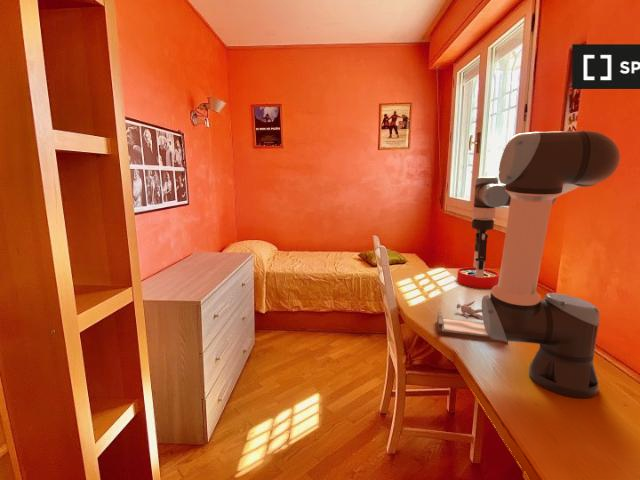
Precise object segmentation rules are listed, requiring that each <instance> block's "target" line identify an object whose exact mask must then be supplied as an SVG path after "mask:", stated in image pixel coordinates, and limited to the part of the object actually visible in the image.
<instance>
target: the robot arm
mask: <svg viewBox="0 0 640 480" xmlns="http://www.w3.org/2000/svg"><path fill="white" fill-rule="evenodd" d="M620 159H621V153H620V149H619V147H618V146H617V144H616V143H615V142H614V141H613V140H612V139H611V138H610V137H609V136H607V135H605V134H603V133H601V132H597V131H593V130H578V131H576V130H575V131H572V130H571V131H570V130H569V131H531V132H523V133H517V134H515V135H513V136H512V137H511V138H510V139H509V141H508V142H507V144H505V148H504V149H503V152H502V155H501V159H500V161H499V167H498V171H499V173H498V177H495V176H479V177H477V178H476V179H475V185H474V199H473V200H474V201H473V208H472V209H471V210H470V211H471V213H472V217H473V218H472V221H471V228H472V229H474V230H476V232H475V244H474V253H473V254H474V256H473V265H472V266H473V267H472V268H476V275H475V277H478V278H484V269H486V268H485V267H486V261H487V244H488V237H489V234H488V233H487V231H491V230H493V229H494V225H495V218H496V208H500V207H509V208H508V216H507V220H506V222H507V223H506V230H505V235H504V244H503V250H502V256H501V264H500V270H499V280H498V284H497V285H495V286H494V287H492V288H490V289H491V290H490V294H486V295H483V296H482V299H481V309H482V312H481V316H483V318H482V323H484V326H485V330H486V332H487V334H488V336H489V337H491V338H492V339H497V340H504V341H506V342H507V341H508V342H515V343H516V342H517V343H527V344H535V345H537V344H538V345H539V348H538V350H537V352H536V353H535V355H534V356H533V358H532V360H531V362H530V364H529V368H528V374H529V377H530V378H531V380H533V381H534V382H535V383H536V384H537V385H539V386H541V387H543V388H544V389H546V390H549V391H550V392H552V393H555V394H558V395H562V396H566V397H569V398H577V399H588V398H592V397H595V396H596V395H597V394H598V391H599V380H598V376H597V372H596V367H595V365H594V356H595V350H596V344H597V339H598V338H597V337H598V330H599V327H600V325H601V324H600V310H599V308H598V307H597V306H596V305H594V304H593V303H592V302H589V301H587V300H584V299H582V298H579V297H575V296H571V295H569V294H563V293H556V292H550V293H549V292H548V293H546V294H545V296H544V299H542V296H541V295H540V294H539V293H538V292H537V285H538V280H539V275H540V271H541V270H540V269H541V265H542V259H543V254H544V253H543V252H544V248H545V242H546V237H547V233H548V232H547V231H548V226H549V220H550V215H551V209H552V206H553V205H554V203H555V202H556V200H557V198H558V197H560V196H562V195H564V194H567V193H569V192H571V191H574V190H576V189H578V188H580V187H581V188H589V187H592V186H595V185H597V184H600V183H602V182H604V181H606V180H608V179H609V178H610V177H611V176H612V175H613V174H614V173H615V172H616V170H617V169H618V167H619V164H620Z"/></svg>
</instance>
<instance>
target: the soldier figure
mask: <svg viewBox="0 0 640 480" xmlns="http://www.w3.org/2000/svg"><path fill="white" fill-rule="evenodd" d="M476 302H477V301H476V300H474V301H471V302H469V303H465V304H464V303H463V305H461V304H460V303H457V304H456V310H459V309H460V311H461V313H462V314H463V316H464V317H466V319H468V318H469V315H470V316H473V317H476V318H478V319H483V316H482V314H480V313H482V308H479V309H474V308H472V307H471V306H472V305H473V304H475V303H476Z"/></svg>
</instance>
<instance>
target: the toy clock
mask: <svg viewBox="0 0 640 480" xmlns="http://www.w3.org/2000/svg"><path fill="white" fill-rule="evenodd" d="M475 275H476V267H461V268H458V269H457V276H456V278H457V279H456V281H457V282H458V283H459V284H460V285H463V284H464V285H463V286H466V285H468V286H467V287H471V286H473V287H472V288H477V287H480V288H479V289H492V287H494V286H495V285H497V284H498V283H499V276H500V273H498V272H497V271H494V270H491V269H487V268H484V278H478V277H475Z"/></svg>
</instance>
